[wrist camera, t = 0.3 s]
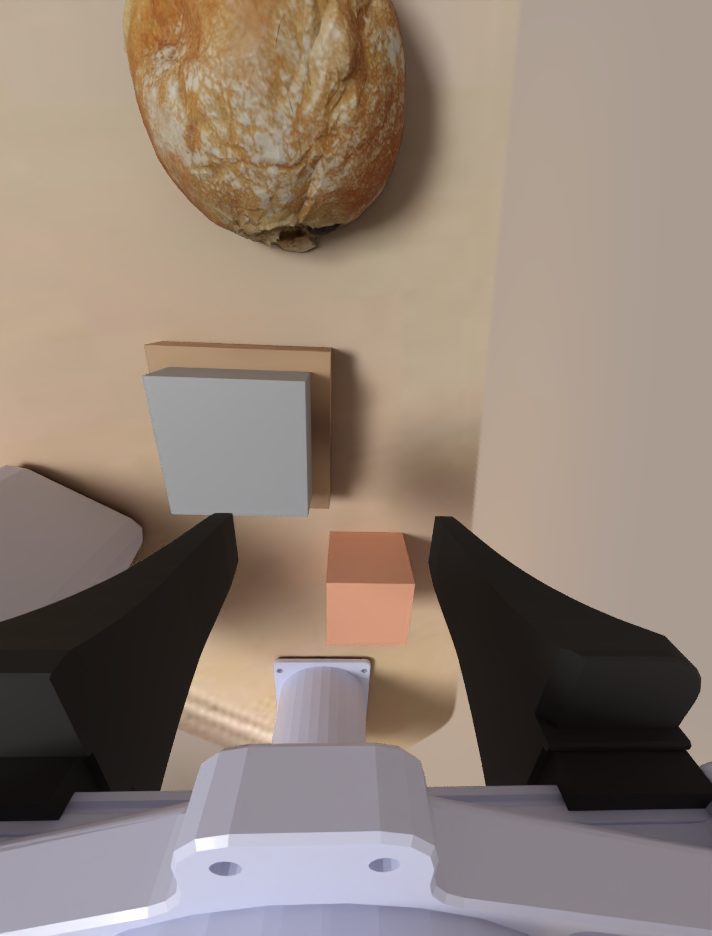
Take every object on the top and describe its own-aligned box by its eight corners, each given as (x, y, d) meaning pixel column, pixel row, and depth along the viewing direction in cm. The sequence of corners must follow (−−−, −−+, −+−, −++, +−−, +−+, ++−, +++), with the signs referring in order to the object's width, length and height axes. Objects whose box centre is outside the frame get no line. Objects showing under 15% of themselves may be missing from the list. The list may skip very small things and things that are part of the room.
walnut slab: (330, 488, 23) (329, 508, 21) (193, 485, 23) (176, 505, 21) (332, 346, 20) (330, 352, 17) (167, 340, 19) (143, 344, 17)
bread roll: (238, 256, 20) (232, 320, 15) (69, -36, 13) (-61, -111, 7) (398, 173, 19) (453, 213, 14) (318, -211, 11) (375, -457, 6)
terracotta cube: (395, 587, 26) (406, 645, 22) (329, 586, 26) (326, 644, 22) (402, 532, 24) (415, 584, 20) (330, 530, 24) (326, 582, 20)
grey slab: (312, 493, 21) (307, 516, 18) (190, 491, 20) (171, 514, 18) (310, 371, 18) (305, 381, 15) (168, 366, 17) (141, 375, 15)
